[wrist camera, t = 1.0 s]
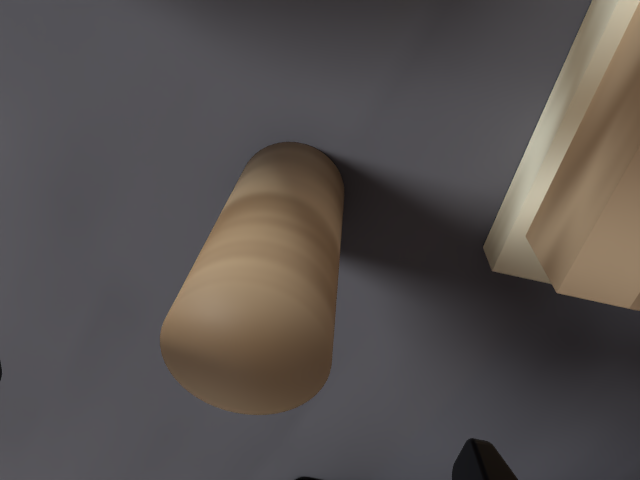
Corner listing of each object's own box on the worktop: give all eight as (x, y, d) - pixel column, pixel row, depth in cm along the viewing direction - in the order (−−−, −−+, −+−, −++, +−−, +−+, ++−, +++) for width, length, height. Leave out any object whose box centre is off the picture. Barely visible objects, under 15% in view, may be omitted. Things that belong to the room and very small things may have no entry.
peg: (332, 246, 18) (312, 428, 12) (234, 225, 18) (156, 396, 11) (355, 155, 17) (349, 306, 10) (247, 131, 16) (163, 267, 10)
